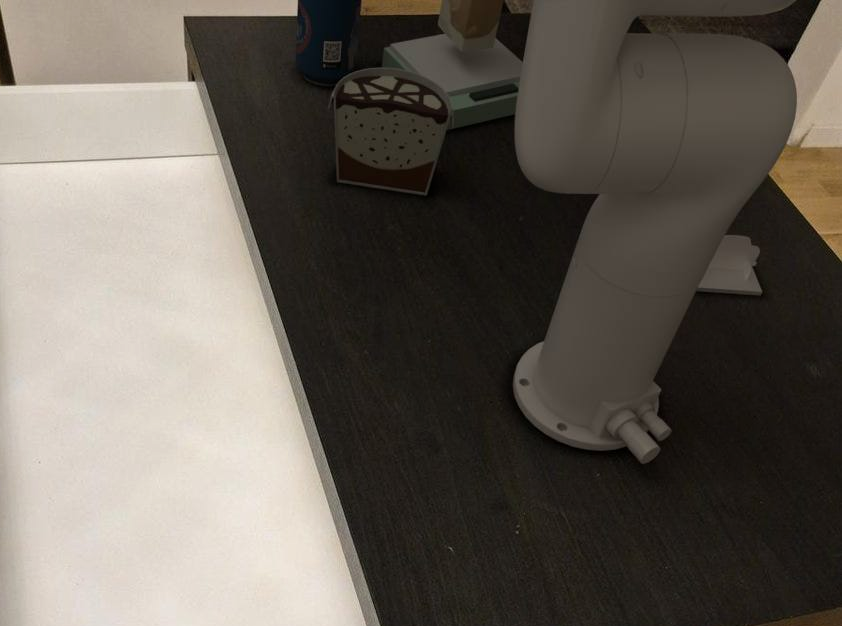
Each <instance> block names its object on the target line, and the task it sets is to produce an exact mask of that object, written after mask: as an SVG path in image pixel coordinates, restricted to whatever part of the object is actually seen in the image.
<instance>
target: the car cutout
mask: <svg viewBox="0 0 842 626" xmlns="http://www.w3.org/2000/svg"><path fill="white" fill-rule="evenodd" d="M760 249H761V248H759V246H757V245H754V244H752V239H751V237H750V236H746V235H739V234H725V236H724V237H723V239H722V241H721V243H720V245H719V247H718V249H717V251H716V253H715V254H714V257H713V259H712V260H711V263H710V265H709V267H708V269H707V271H706V273H705V275H704V277H703V279H702V281H701V282H700V284H699V286H698V288H697V290H696V292H701V293H703V292H705V293H716V294H717V293H719V294H730V295H731V294H735V295H745V296H747V295H749V296H761V295H762V294H763V290H762V288H761V285H760V283H759V280H758V277H757V275H756V272H755V270H754V268H753V267H755V266H757V264H758V262H757V261H756V260H757V259H758V257H759V255H760V252H761V250H760Z"/></svg>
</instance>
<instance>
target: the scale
mask: <svg viewBox="0 0 842 626" xmlns="http://www.w3.org/2000/svg"><path fill="white" fill-rule="evenodd" d="M522 65H523V60H522V59H521V60H520V58H518V57H517V56H516V54H514V53H513V52H512V51H511V50H510V49H508V48H507V47H506V45H504V44H503V43H502V42H500V40H499V39H497V37H495V42H494V46H493V48H488V49H481V50H473V51H466V52H461V51H460V50H459V49H458V48H457V47H456V45H455V44H454V43H453V42H452V41H451V40H450V39H449V38H448V37H447V35H446V34H445V33H442V34H437V35H431V36H426V37H420V38H415V39H410V40H405V41H399V42H393V43H390V45H389V46H386V47H383V54H382V61H381V68H395V69H401V70H407V71H410V72H414V73H417V74H419V75H422V76H424V77H426V78H428V79H430V80H432V81H434V82H435V83H437V84H438V85H439V86H440V87H442V88H443V89H444V91H445V92H446V93H447V94H448V96H449V98H450V100H451V103H452V108H453V115H454V129H458V128H463V127H467V126H471V125H476V124H480V123H483V122H484V123H485V122H487V121H492V120H496V119H501V118H504V117H509V116H515V113H516V104H517V97H518V90H519V83H520V77H521V71H522ZM450 130H453V129H452V122H451V119H450V120H449V123H448V126H447V130H446V131H450Z"/></svg>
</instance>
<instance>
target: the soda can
mask: <svg viewBox="0 0 842 626" xmlns="http://www.w3.org/2000/svg"><path fill="white" fill-rule="evenodd" d="M361 9H362V0H297V10H296V12H297V13H296V34H295V35H296V37H295V38H296V40H295V63H296V66H297V69H298V70H299V72H300V74H301V75H302V77H303V78H304V79H305V80H306V81H308V82H309V83H311V84H314V85H317V86H322V87H336V85H337V84H338V82H339V81H340V80H341V79H343V78H344V77H345V76H347V75H349V74H351V73H353V72H355V70H356V68H357V58H358V57H357V56H358V46H359V35H360V24H361V13H362V12H361V11H362V10H361Z"/></svg>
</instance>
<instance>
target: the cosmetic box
mask: <svg viewBox="0 0 842 626" xmlns="http://www.w3.org/2000/svg"><path fill="white" fill-rule="evenodd" d="M504 1H505V0H441V3H440V9H439V16H438V21H437V26H438V27H439V28H440V30H441V31H442V32H443V34H446V35H447V37H448V38H449V39H450V40H451V41H452V42H453V43H454V44H455V45H456V47H457V48H458V49H459V50H460V51H461V52H466V51H473V50H481V49H488V48H493V46H494V42H495V38H497V37H496V36H497V32H498V27H499V23H500V19H501V14H502V9H503V5H504Z"/></svg>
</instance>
